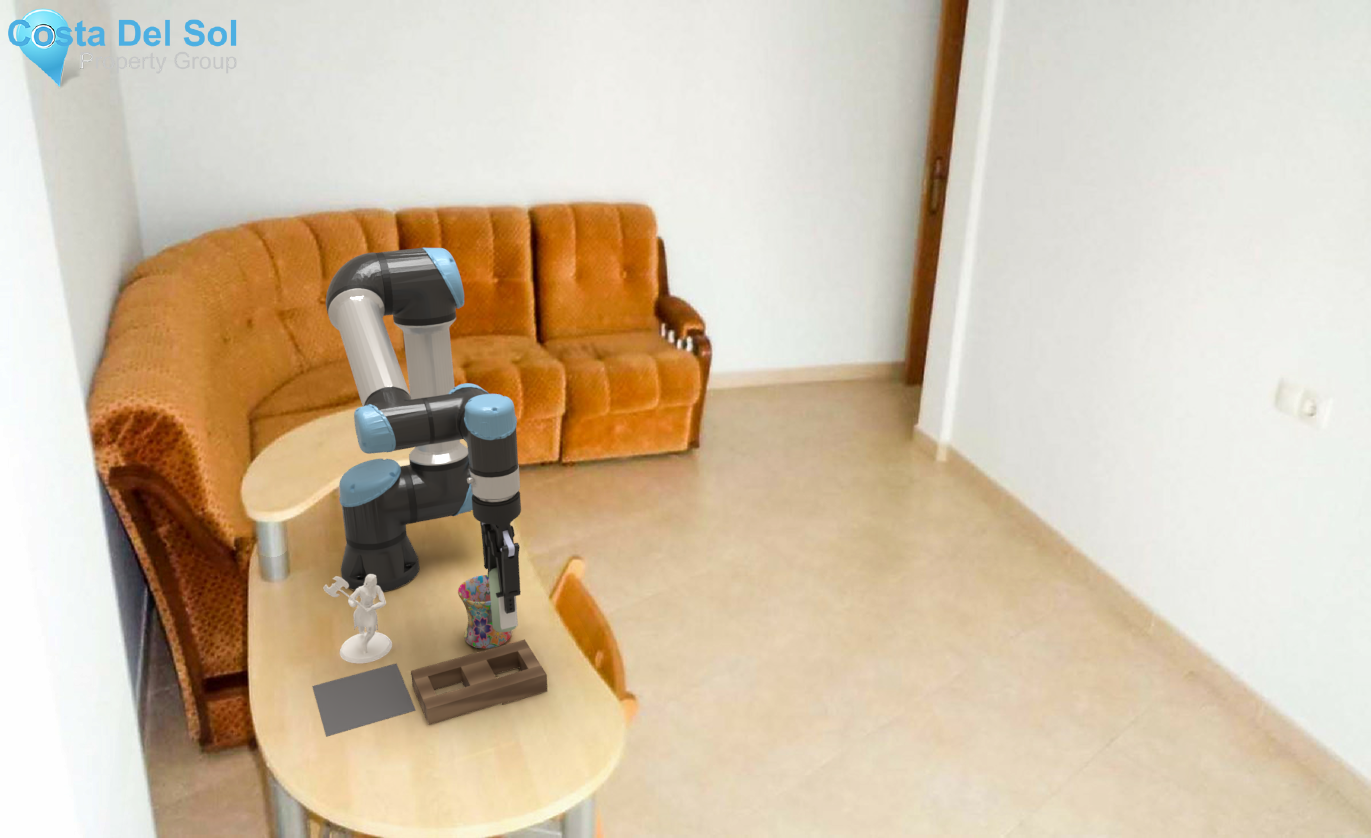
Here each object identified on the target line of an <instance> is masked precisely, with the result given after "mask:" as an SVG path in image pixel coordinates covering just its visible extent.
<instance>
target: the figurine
mask: <svg viewBox="0 0 1371 838" xmlns="http://www.w3.org/2000/svg"><path fill="white" fill-rule="evenodd" d="M332 580H334V581H335V582H333V583H331V586H328V584H325V585H324V586H323V590H324V592H325V593H326V594H328V595H329V596H330V597H332V598H338V597H339V596H341V595H340V593H342V594H343V595H345V596H346V597H348V599H347V602H348V603H347V604H348V605H349V607H351V608H356V609H355V610H354V611H353V624H354V625H353V630H354V631H355V629H356V628H358V633H357V634H354V635H352V636H350V637H349V638H348V639H346V640H345V641H344V643H342V645H341V647H340V649H339V656H340V658H342V660H343V661H346V662H347V663H350V664H351V663H352V664H367V663H371V662H375V661H378V660H380V659H382V658H384V657H385V656H386V655H387V654H389V653H390V651H391V649H393V641H392V640H391V639H390V637H388V636H387V635H386V634H384V633H383V632H379V631H378V630H379V623H378V613H377V610H378V609H382V608H383V607H384V606H386V605H387V602H386V598H385V595H384V592H383V591H382V590H381V588H380V586H378V585H376V584H377V578H376V575H374V574H368V575H367V576H366V578H365V582H364V585H363V586H360V587H359V588H357V589H356V590H354V592H353V593H352V594H350V595H349V593H347V592H345V591H344V590H343V589H342V588H343V587H344V588H345V590H348V589H349V588H348V587H349V584H348V583H347V582H346V581H345V580H344V579H343V578H342V576H337V575H335V576H334V577H332ZM366 584H367V585H366ZM338 591H340V593H337V592H338ZM358 597H359V598H360V601H358V600H357V599H358ZM377 597H378V600H379V601H378V602H376V603H374V600H375V599H376V598H377Z"/></svg>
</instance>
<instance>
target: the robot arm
mask: <svg viewBox="0 0 1371 838" xmlns="http://www.w3.org/2000/svg"><path fill="white" fill-rule="evenodd" d="M464 305H465V291H464V286H463V282H462V277H461V275H460V271H459V268H458V264H457V263H456V260H455V259H454V257H453V255H452V254H451V252H449V250H447V249H445V248H442V247H419V248H411V249H410V248H409V249H399V250H389V251H388V250H387V251H381V252H367V253H362V254H360V255H356V256H354V257H353V258H351V259H350V260H348V261H347V262H346V263H344V264H343V265H342V266H341V267H340V268H339V269H338V270H337V271H336V273H335V274H334V276H333V277H332V279H331V281H330V283H329V286H328V289H327V291H326V297H325V307H326V312H327V315H328V319H329V321H330V324H331V325H332V326H333V328H335V329H336V330H337V331H339V334H340V337H341V341H342V344H343V347H344V350H345V354H346V357H347V360H348V363H349V366H350V369H351V373H352V376H353V379H354V383H355V385H356V389H357V392H358V396H359V399H360V402H361V404H362V406H360V407H359V406H358V407H357V408H356V409H355V410H354V414H353V419H354V421H353V422H354V428H355V434H356V438H357V443H358V446H359V448H360V450H361V451H362V452H363V453H364V454H380V453H392V452H394V451H401V450H406V449H411V448H413V449H412V450H411V451H410V453H409V454H408V459H409V464H406V465H401V466H400V464H399V463H398V461H397V460H394V459H391V458H385V459H384V458H375V459H369V460H366V461H363V462H360V463H358V464H356V465H354V466H352V467H350V468H349V469H348V470H346V472H344V473H343V474H342V476H341V478H340V480H339V483H338V484H339V504H340V505H341V510H342V511H341V512H342V519H343V527H344V535H345V542H346V543H345V548H344V552H343V556H342V562H341V565H340V575H341V576H340V577H341V578H343V579H344V580H345V581H346V582H347V583H348V584H349V587H348V588H347V589H350V590H352V591H355V590H356V589H357V588H359V587H360V586H363V585H364V582H365V578H366V576H367V575H368V574H374V575H376V578H377V584H376V585H378V586H380V588H381V590H382V591H383V593H384V592H388V591H392V590H395V589H398V588H401V587H404V586H405V585H407V584H409V583H410V582H412V581H413V580H415V578H416V577H417V576H418V574H419V572H420V561H419V556H418V554H417V552H416V549H415V548H414V546H413V544H412V542H411V540H410V538H409V536H408V533H407V525H409V524H410V525H411V524H417V523H421V522H427V521H432V520H437V519H442V518H447V517H456V516H458V515H461V514H464V513H465V514H466V513H469V512H471V511H472V515H473V517H474V519H475V520H476V521H478V522H479V523H480V531H481V542H482V553H483V555H482V556H483V567H484V569H485V570H487V575H488V576H489V572H490V571H491V570H492V569H494V568H497V572H498V579H499V587H500V592H498V593H496V597H497V598H498V599H499V613H500V627H501V629H502V630H503V629H506V628H510V627H514V626H517V627H518V625H519V623H518V607H517V596H520V595H521V583H520V582H521V581H520V580H521V578H520V561H519V560H520V558H519V556H520V544H519V542H515V541H514V540H515V539H514V537H515V530H514V527H513V525H511V523H512V522H513V521H514V520H516V518H518V517H519V516H520V514H521V512H522V503H521V492H520V491H519V490H520V489H521V482H520V481H521V479H520V467H519V466H520V465H519V458H518V454H519V453H518V439H517V438H518V437H517V435H518V434H517V423H518V420H517V416H516V410H515V405H514V401H513V400H512V399H511V398H510V397H508V396H506V395H504V396H503V395H502V394H500V393H498V394H497V393H489V392H488V391H487V390H485V389H484V388H482V387H481V386H479V385H478V384H474V383H468V382H467V383H461V384H458V385H456V386H455V377H454V367H453V366H454V365H453V364H454V363H453V356H452V355H453V354H452V345H451V344H452V343H451V334H450V327H452V326H451V325H453V324H454V322H456V320H457V313H456V312H457V311H456V309H460V308H462V307H464ZM385 316H392V318H393V324H394V325H395V326H397V327H398V328H399V329H400V330H401V331H402V332H403V340H404V341H403V342H404V351H405V360H406V369H407V379H408V385H409V386H407V383H406V380H405V377H404V374H403V372H402V369H401V365H400V364H399V361H398V356H397V355H396V351H395V350H394V347H393V344H392V342H391V338H390V335H389V333H388V330H387V326H386V325H385V322H384V319H383V318H384V317H385ZM408 387H409V388H408ZM461 440H464V441H465V443H466V445H467V446H466V445H465V444H463V443H462V442H461ZM514 542H515V543H514ZM366 585H367V584H366Z"/></svg>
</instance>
